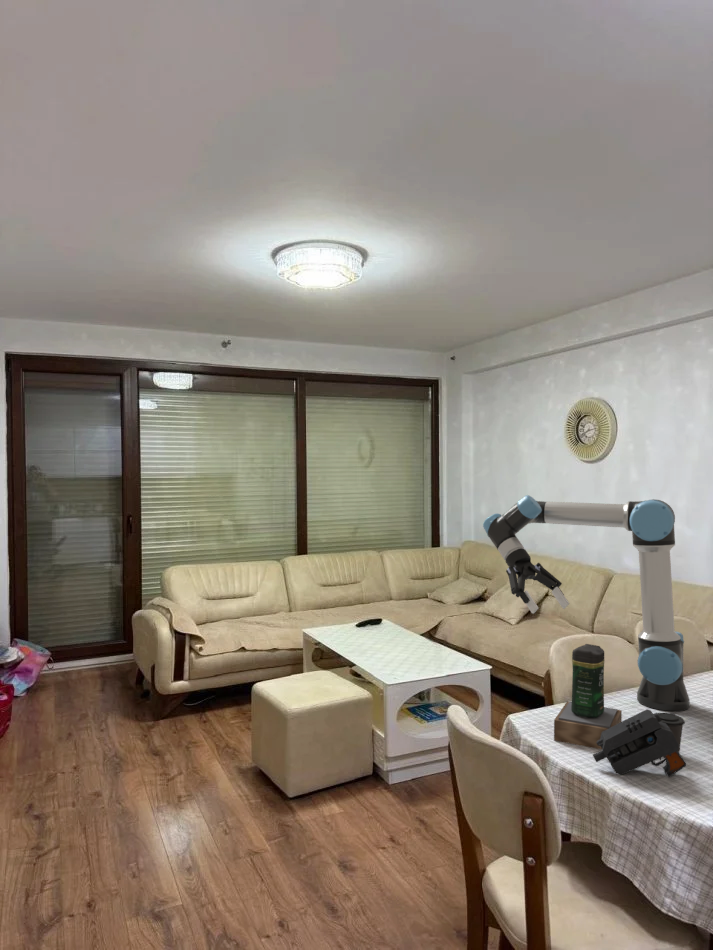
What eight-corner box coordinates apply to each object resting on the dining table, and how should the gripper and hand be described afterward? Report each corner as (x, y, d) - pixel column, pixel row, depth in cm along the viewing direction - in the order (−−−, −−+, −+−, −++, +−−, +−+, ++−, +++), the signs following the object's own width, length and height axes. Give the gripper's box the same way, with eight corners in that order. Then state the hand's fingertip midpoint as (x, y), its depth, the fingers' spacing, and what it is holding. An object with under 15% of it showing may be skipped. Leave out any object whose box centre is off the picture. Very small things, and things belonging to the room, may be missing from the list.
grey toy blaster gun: (694, 769, 154) (660, 711, 155) (619, 803, 157) (586, 746, 158) (687, 759, 159) (654, 703, 161) (614, 791, 163) (583, 736, 164)
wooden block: (621, 730, 185) (621, 708, 185) (612, 751, 171) (612, 728, 171) (566, 720, 193) (566, 699, 193) (554, 740, 178) (554, 718, 178)
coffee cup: (684, 750, 171) (684, 712, 171) (685, 763, 164) (685, 722, 164) (650, 745, 175) (650, 707, 175) (650, 757, 167) (650, 718, 167)
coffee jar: (597, 721, 176) (597, 651, 176) (567, 714, 180) (568, 647, 181) (608, 711, 183) (608, 644, 183) (579, 705, 188) (579, 640, 188)
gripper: (535, 559, 222) (571, 611, 209) (480, 564, 209) (515, 620, 196) (547, 545, 218) (585, 597, 205) (492, 549, 205) (528, 605, 192)
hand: (551, 608), depth 201 cm, fingers open, 13 cm apart
